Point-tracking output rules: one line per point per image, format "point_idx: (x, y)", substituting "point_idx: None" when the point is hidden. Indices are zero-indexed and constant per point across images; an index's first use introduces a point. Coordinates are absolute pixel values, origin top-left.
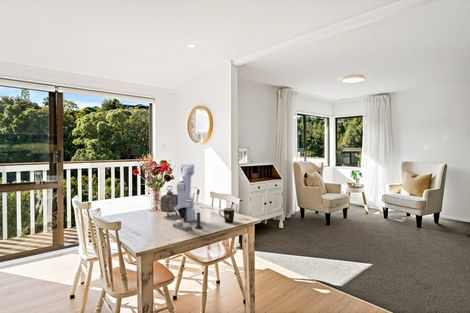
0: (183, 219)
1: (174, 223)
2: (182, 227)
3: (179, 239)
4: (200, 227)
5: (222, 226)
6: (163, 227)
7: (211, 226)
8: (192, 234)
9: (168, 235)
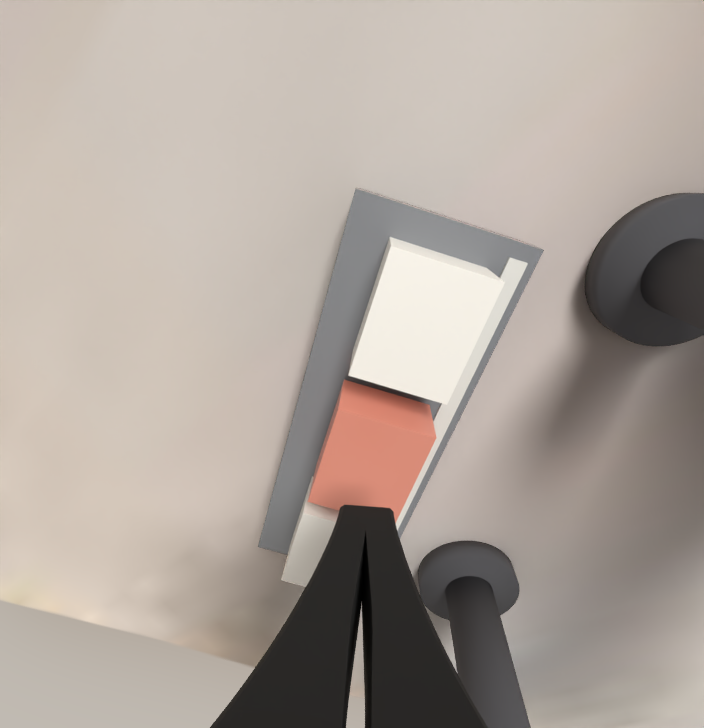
0: (699, 271)
1: (389, 218)
2: (272, 495)
3: (49, 589)
4: (448, 618)
5: (618, 718)
6: (195, 40)
7: (585, 650)
8: (235, 614)
9: (21, 439)
